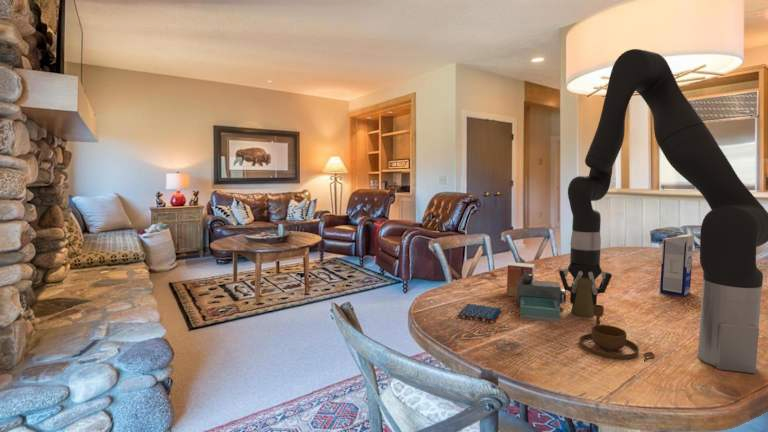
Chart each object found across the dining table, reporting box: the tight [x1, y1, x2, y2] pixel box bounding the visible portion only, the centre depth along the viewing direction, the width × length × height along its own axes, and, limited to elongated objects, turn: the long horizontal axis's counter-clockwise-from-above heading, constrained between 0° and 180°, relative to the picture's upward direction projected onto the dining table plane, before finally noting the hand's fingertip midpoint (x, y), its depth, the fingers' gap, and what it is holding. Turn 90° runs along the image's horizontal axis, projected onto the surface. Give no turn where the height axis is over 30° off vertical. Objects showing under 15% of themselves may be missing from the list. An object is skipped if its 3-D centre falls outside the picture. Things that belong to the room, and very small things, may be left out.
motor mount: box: [516, 273, 567, 324], centre depth 116 cm, size 16×14×10 cm
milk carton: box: [659, 232, 695, 297], centre depth 132 cm, size 7×7×20 cm
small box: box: [506, 261, 536, 298], centre depth 131 cm, size 8×6×10 cm
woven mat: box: [457, 303, 503, 324], centre depth 114 cm, size 10×11×2 cm
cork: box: [570, 277, 595, 318], centre depth 113 cm, size 6×6×11 cm
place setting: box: [578, 304, 655, 363], centre depth 94 cm, size 18×20×6 cm
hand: (583, 305), depth 114 cm, fingers closed on cork, 4 cm apart
